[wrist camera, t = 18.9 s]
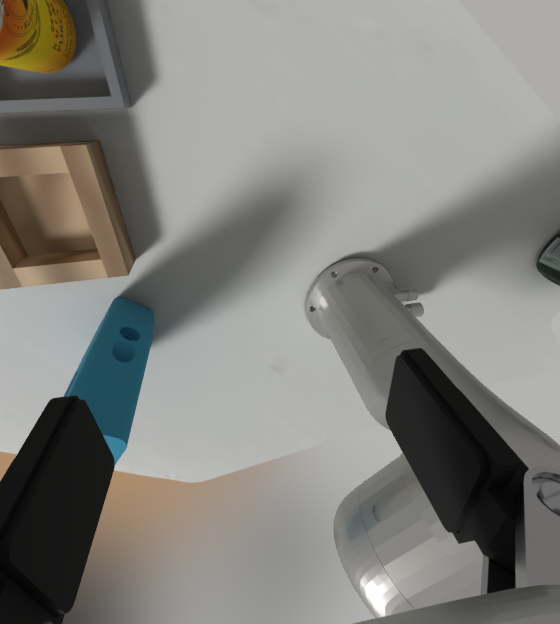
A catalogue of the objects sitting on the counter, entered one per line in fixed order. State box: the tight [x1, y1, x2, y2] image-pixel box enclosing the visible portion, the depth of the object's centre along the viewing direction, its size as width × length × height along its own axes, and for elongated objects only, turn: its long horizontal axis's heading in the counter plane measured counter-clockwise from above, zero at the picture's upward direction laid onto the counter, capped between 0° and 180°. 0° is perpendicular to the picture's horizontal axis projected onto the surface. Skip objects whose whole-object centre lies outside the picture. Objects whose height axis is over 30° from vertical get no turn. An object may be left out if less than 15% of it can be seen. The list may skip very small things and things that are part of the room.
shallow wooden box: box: [0, 140, 135, 289], centre depth 31 cm, size 12×12×4 cm
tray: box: [0, 0, 132, 113], centre depth 24 cm, size 11×11×3 cm
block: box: [64, 298, 154, 464], centre depth 33 cm, size 12×5×20 cm, turn 144°
